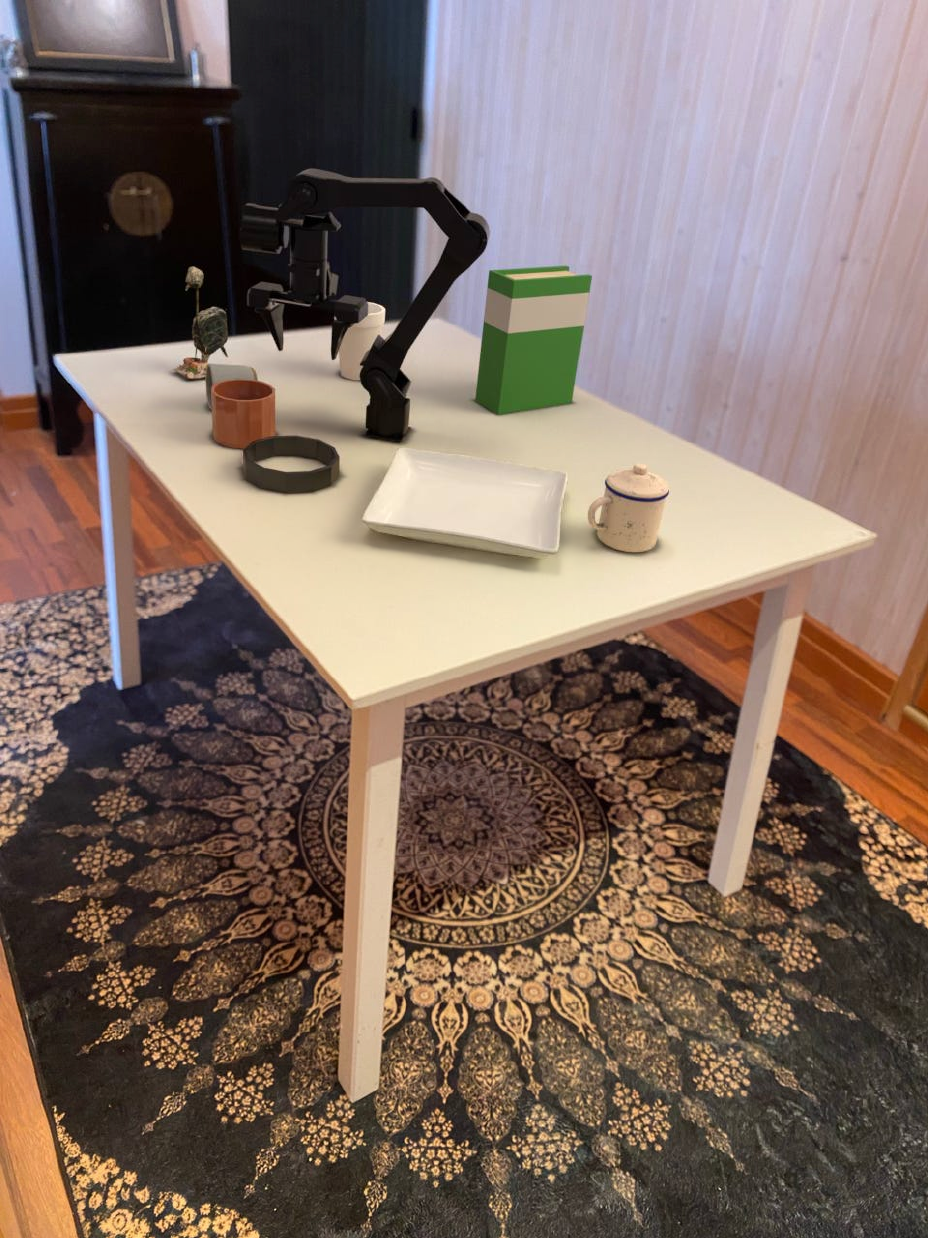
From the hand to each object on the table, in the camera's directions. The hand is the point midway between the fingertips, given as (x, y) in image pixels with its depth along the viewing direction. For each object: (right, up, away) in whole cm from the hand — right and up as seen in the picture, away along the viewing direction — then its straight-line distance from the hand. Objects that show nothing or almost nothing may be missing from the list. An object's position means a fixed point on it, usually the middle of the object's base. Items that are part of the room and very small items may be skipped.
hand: (307, 354), depth 167 cm
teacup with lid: (+48, -32, -20) cm, 61 cm away
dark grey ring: (-1, -21, -11) cm, 24 cm away
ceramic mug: (-15, -6, +10) cm, 19 cm away
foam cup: (+5, +4, +30) cm, 31 cm away
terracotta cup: (-10, -14, -1) cm, 17 cm away
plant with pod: (-23, +2, +23) cm, 32 cm away
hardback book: (+37, -2, +26) cm, 46 cm away
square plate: (+27, -29, -18) cm, 43 cm away
